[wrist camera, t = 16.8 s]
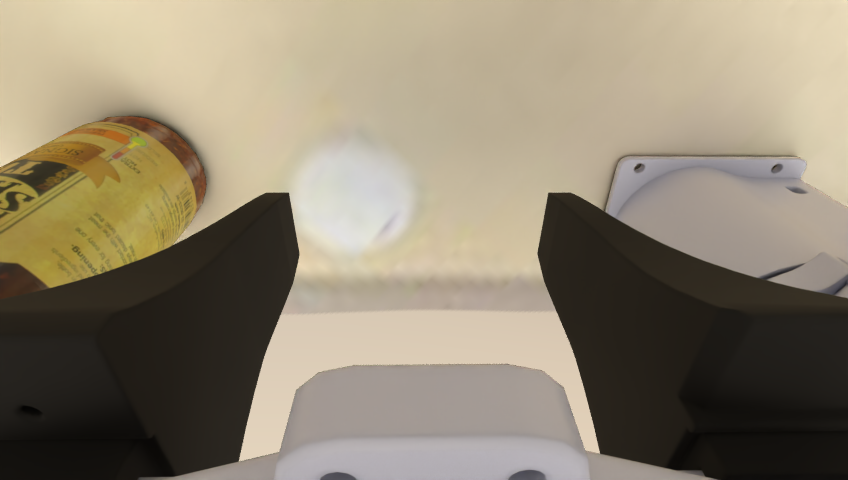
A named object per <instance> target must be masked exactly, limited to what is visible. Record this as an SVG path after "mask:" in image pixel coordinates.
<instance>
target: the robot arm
mask: <svg viewBox="0 0 848 480" xmlns="http://www.w3.org/2000/svg"><path fill="white" fill-rule="evenodd" d="M640 163H642V165H641V167H640V168H639V169H637V170H634V168H635V166H636V165H637V164H640ZM776 164H777V166H776V167H775V168H774V169H773V170H772V168H773V166H775V165H776ZM806 165H807V164H806V161H805V160H803V159H802V158H800V157H721V156H628V157H624V158H623V159H621V160H620V161H619V163H618V165H617V168H616V172H615V176H614V179H613V183H612V187H611V191H610V195H609V198H608V202H607V206H606V210H605V212H604V211H603V210H601V209H599V208H598V207H596V206H594V205H593V204H591V203H589V202H588V201H586V200H584V199H582V198H581V197H579V196H577V195H575V194H572V193H548V198H547V204H546V209H545V215H544V220H543V226H542V231H541V237H540V243H539V248H538V258H539V262H540V266H541V270H542V274H543V278H544V282H545V284H546V287H547V289H548V292H549V294H550V297H551V299H552V302H553V304H554V306H555V309H556V311H557V313H558V316H559V318H560V321H561V323H562V325H563V328H564V330H565V332H566V335H567V337H568V339H569V342H570V344H571V347H572V350H573V353H574V355H575V358H576V362H577V365H578V369H579V372H580V376H581V379H582V382H583V386H584V390H585V393H586V397H587V401H588V405H589V409H590V413H591V417H592V420H593V424H594V428H595V433H596V437H597V441H598V446H599V450H600V454H598V453H594V452H589V451H585V448H584V446H583V443H582V440H581V437H580V434H579V431H578V428H577V425H576V423H575V419H574V416H573V413H572V411H571V408H570V405H569V402H568V399H567V396H566V393H565V390H564V388H563V387H562V386H561V385H560V384H559V383H557V382H556V381H555V380H554V379H552V378H551V377H550V376H549V375H547V374H546V373H545V372H544V371H542V370H537V369H531V368H526V367H521V366H516V365H509V364H436V365H435V364H433V365H353V366H347V367H343V368H337V369H332V370H328V371H323V372H319V373H317V374H316V375H315V376H313V377H312V378H311V379H310V380H308V381H307V382H306V383H304V384H303V385H302V386H301V387H299V388H298V389H297V390H296V393H295V396H294V400H293V404H292V408H291V412H290V415H289V419H288V422H287V426H286V430H285V433H284V437H283V441H282V445H281V448H280V452H278V453H273V454H269V455H265V456H260V457H256V458H252V459H248V460H244V461H239V457H240V453H241V448H242V443H243V439H244V434H245V429H246V425H247V421H248V417H249V413H250V409H251V404H252V400H253V396H254V392H255V388H256V385H257V381H258V377H259V373H260V369H261V366H262V362H263V359H264V356H265V353H266V350H267V347H268V345H269V342H270V339H271V337H272V334H273V332H274V329H275V327H276V325H277V322H278V319H279V317H280V315H281V312H282V310H283V307H284V305H285V302H286V300H287V297H288V295H289V292H290V289H291V287H292V284H293V281H294V277H295V273H296V268H297V264H298V259H299V248H298V243H297V237H296V231H295V226H294V220H293V214H292V209H291V203H290V197H289V193H265V194H263V195H261V196H259V197H257V198H255V199H253V200H252V201H250V202H248V203H247V204H245V205H243V206H242V207H240V208H238V209H237V210H235V211H234V212H232V213H230V214H229V215H227V216H225V217H224V218H222V219H220V220H219V221H217V222H216V223H214V224H212V225H210V226H208V227H207V228H205V229H203V230H201V231H199V232H198V233H196V234H194V235H192V236H190V237H188V238H187V239H185V240H183V241H181V242H179V243H177V244H175V245H172V246H170V247H168V248H166V249H164V250H161V251H159V252H157V253H155V254H152V255H150V256H148V257H145V258H143V259H140V260H137V261H135V262H132V263H129V264H126V265H123V266H121V267H118V268H115V269H112V270H110V271H107V272H104V273H101V274H98V275H95V276H91V277H88V278H85V279H81V280H78V281H74V282H71V283H67V284H63V285H60V286H56V287H52V288H48V289H44V290H40V291H36V292H31V293H26V294H22V295H17V296H12V297H8V298H3V299H0V480H848V207H846V206H844V205H843V204H841V203H839V202H838V201H836V200H834V199H833V198H831V197H829V196H828V195H826V194H824V193H822V192H821V191H819V190H817V189H816V188H814V187H812V186H811V185H809V184H807V183H805V182H804V181H802V180H800V178H801V176H802V174H803V172H804V171H805V169H806Z"/></svg>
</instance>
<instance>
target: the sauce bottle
mask: <svg viewBox="0 0 848 480" xmlns="http://www.w3.org/2000/svg"><path fill="white" fill-rule="evenodd" d="M205 190H206V177H205V174H204V169H203V166H202V164H201V163H200V161H199V159H198V157H197V155H196V153H195V152H194V151H193V150H192V149H191V148H190V147H189V145H188V144H187V143H186V142H185V141H184V140H183V139H182V138H180V136H178V135H177V134H176V133H175V132H174V131H172V130H171V129H169V128H168V127H166V126H164V125H161V124H160V123H158V122H155V121H152V120H149V119H147V118H141V117H133V116H118V117H107V118H106V119H104V120H102V121H99V122H93V123H89V124H85V125H82V126H80V127H78V128H76V129H74V130H72V131H70V132H68V133H66V134H64V135H62V136H60V137H59V138H57V139H55V140H53V141H51V142H49V143H47V144H45V145H43V146H41V147H39V148H37V149H35V150H33V151H31V152H29V153H27V154H26V155H24V156H22V157H20V158H18V159H16V160H14V161H12V162H10V163H8V164H6V165H4V166H3V167H0V299H3V298H8V297H12V296H17V295H22V294H26V293H31V292H36V291H40V290H44V289H48V288H52V287H56V286H60V285H63V284H67V283H71V282H74V281H78V280H81V279H85V278H88V277H91V276H95V275H98V274H101V273H104V272H107V271H110V270H112V269H115V268H118V267H121V266H123V265H126V264H129V263H132V262H135V261H137V260H140V259H143V258H145V257H148V256H150V255H152V254H155V253H157V252H159V251H161V250H164V249H166V248H168V247H170V246H172V245H173V244H174V242H175V241H176V240H177V239H178V238H179V236H180V235H181V234H182V233H183V232H184V230H185V229H186V228H187V227H188V226H189V224H190V223H191V221H192V219H193V217H194V215H195V213H196V212H197V211H198V209H199V208H200V206H201V204H202V203H203V198H204V195H205Z"/></svg>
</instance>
